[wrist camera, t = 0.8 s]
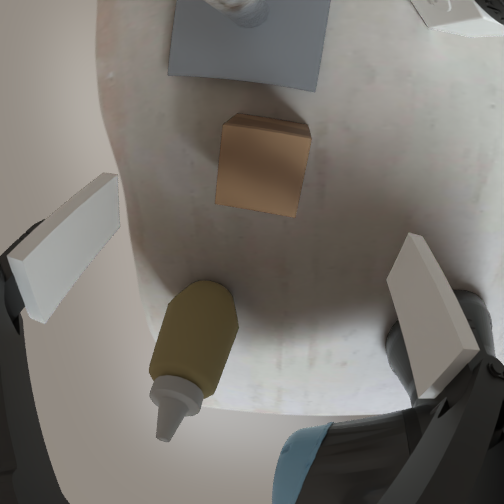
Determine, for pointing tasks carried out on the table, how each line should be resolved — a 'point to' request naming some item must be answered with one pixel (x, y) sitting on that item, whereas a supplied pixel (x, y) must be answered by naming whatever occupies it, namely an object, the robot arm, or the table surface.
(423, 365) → the robot arm
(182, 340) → the squeeze bottle
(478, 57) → the table surface
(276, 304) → the table surface
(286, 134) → the brown wooden cube
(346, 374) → the table surface
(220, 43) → the base plate
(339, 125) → the table surface
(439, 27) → the jar
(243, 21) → the post
